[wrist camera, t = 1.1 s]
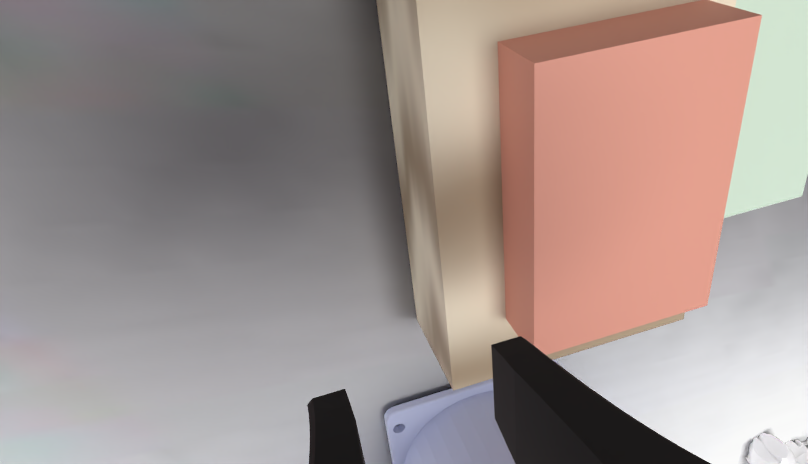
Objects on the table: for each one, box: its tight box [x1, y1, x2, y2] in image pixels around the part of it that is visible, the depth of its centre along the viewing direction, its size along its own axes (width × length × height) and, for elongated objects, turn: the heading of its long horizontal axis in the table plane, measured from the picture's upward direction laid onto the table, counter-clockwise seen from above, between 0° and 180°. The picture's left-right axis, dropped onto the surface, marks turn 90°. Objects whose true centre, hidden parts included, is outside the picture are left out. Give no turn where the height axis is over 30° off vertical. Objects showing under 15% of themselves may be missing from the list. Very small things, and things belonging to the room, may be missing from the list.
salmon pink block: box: [498, 0, 762, 355], centre depth 18 cm, size 9×6×2 cm, turn 7°
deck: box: [376, 0, 736, 391], centre depth 20 cm, size 14×9×4 cm, turn 7°
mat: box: [724, 0, 808, 218], centre depth 24 cm, size 12×8×1 cm, turn 7°
